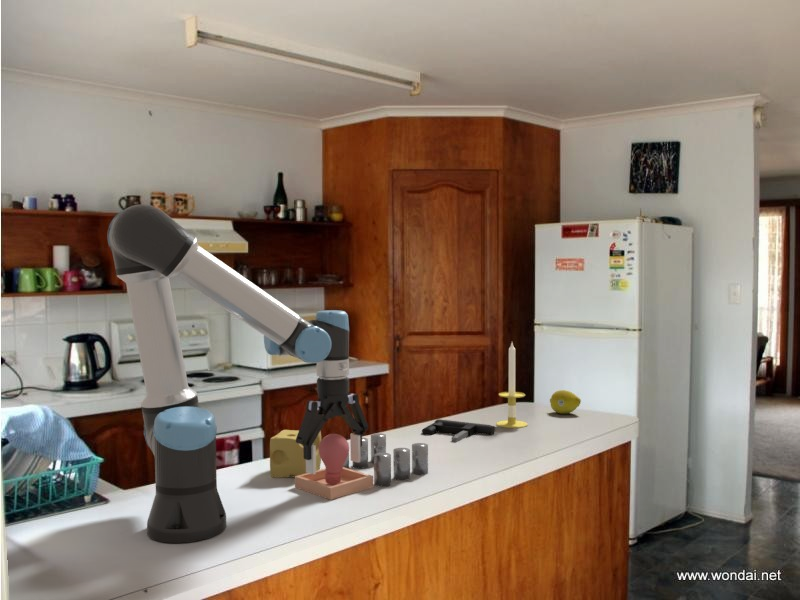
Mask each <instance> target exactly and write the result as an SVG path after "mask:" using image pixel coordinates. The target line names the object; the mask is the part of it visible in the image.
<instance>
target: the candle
mask: <svg viewBox="0 0 800 600" xmlns="http://www.w3.org/2000/svg"><path fill="white" fill-rule="evenodd" d="M498 396H499V397H501V398H506V399H507V419H506V420H505V419H504V420H499V421H497V422H496V423H495V425H496V426H498V427H500V428H505V429H522V428H526V427H528V423H527V422H525V421H522V420H517V402H516V401H517V398H518V399H519V398H524V397H526V394H525V393H524V392H521V391H516V348H515V347H514V343H513V342H511V343H510V346H509V348H508V391H502V392H499V393H498Z"/></svg>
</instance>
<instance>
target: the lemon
mask: <svg viewBox="0 0 800 600" xmlns="http://www.w3.org/2000/svg"><path fill="white" fill-rule="evenodd" d="M581 402H582V400H581V398H580V397H578V395H576V394H575V393H573V392H571V391H570V390H566V389H565V390H557V391H555V392H553V393H552V395H551V397H550V399H549V403H550V407H551V409H552V411H554V412H555V413H558V414H561V415H566V414H570V413H573V412H574V411H575V410H577V408H578V407H579V406H580V404H581Z"/></svg>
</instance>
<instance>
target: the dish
mask: <svg viewBox="0 0 800 600" xmlns="http://www.w3.org/2000/svg"><path fill="white" fill-rule="evenodd" d="M325 469H326V467H325V468H321V469H319V470H317V471H316V474H314V475H313V474H310V473H306V474H302V475H298V476H295V477H294V488H295V489H299V490H302V491H304V492H307V493H310V494H313V495H316V496H319V497H322V498H325V499H327V500H330V501H331V500H334V499H338V498H340V497H345V496H348V495H351V494H353V493H354V494H355V493H358V492H361V491H364V490H368V489H371V488H374V475H371V474H369V473H364V472H362V471H358V470H356V469H351V468H349V469H348V468H345V467H343V470H342V472H341V479H340V480H341V481H340V483H337V484H328V483H326V482H325V481H326V480H325V474H326V470H325Z"/></svg>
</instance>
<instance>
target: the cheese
mask: <svg viewBox="0 0 800 600" xmlns="http://www.w3.org/2000/svg"><path fill="white" fill-rule="evenodd" d="M298 432H299V429H298V430H294V429H292V430H291V429H283V430H281V431H280V432H279V433H277V434H276V435H273V436H272V437H270V439H269V469H270V470H269V471H270V477H271V478H285V479H286V478H287V479H288V478H295V476H298V475H302V474H306V473H307V472H306V459H304V452H303V445H302V444H299V443H296V438H297V435H298ZM321 440H322V430H321V431H320V432H319V434H318V436H317V438H316V439H315V441H314V443H313V445H316V471H317V470H321V469H320V468H321V463H322V459H321V457H320V455H319V444H320V442H321Z"/></svg>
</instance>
